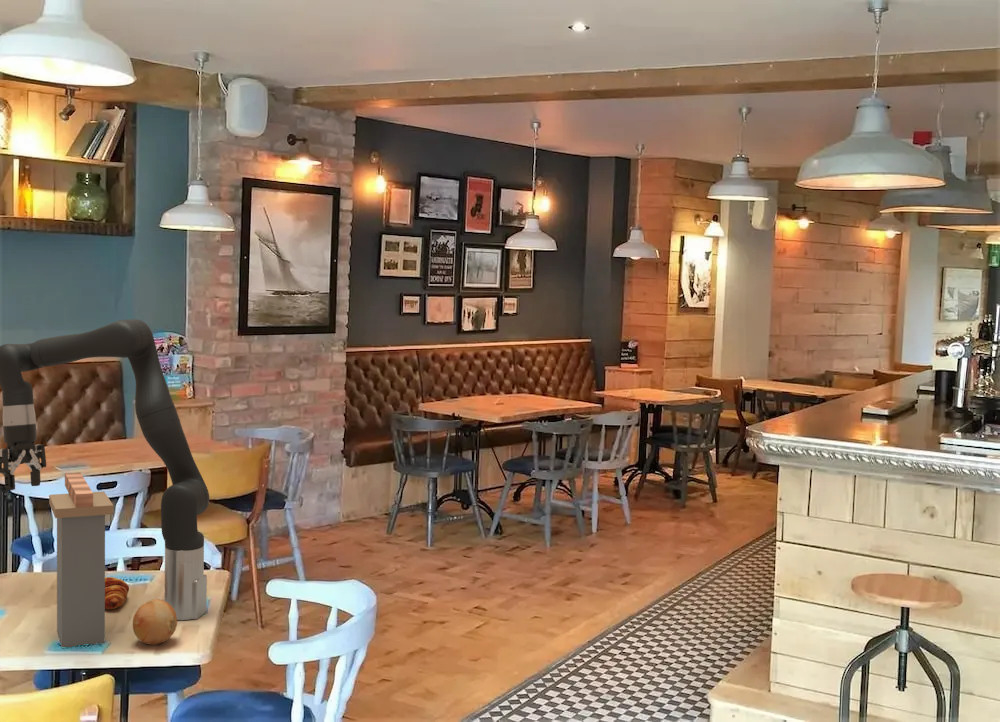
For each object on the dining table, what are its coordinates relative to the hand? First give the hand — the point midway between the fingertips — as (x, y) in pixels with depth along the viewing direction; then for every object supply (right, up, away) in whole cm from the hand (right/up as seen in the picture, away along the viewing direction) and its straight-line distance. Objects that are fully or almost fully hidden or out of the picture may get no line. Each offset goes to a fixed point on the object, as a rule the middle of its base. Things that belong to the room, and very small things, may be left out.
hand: (23, 487), depth 261 cm
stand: (+23, -32, -21) cm, 45 cm away
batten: (+22, +1, -20) cm, 29 cm away
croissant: (+19, -30, +5) cm, 36 cm away
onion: (+41, -33, -24) cm, 57 cm away
